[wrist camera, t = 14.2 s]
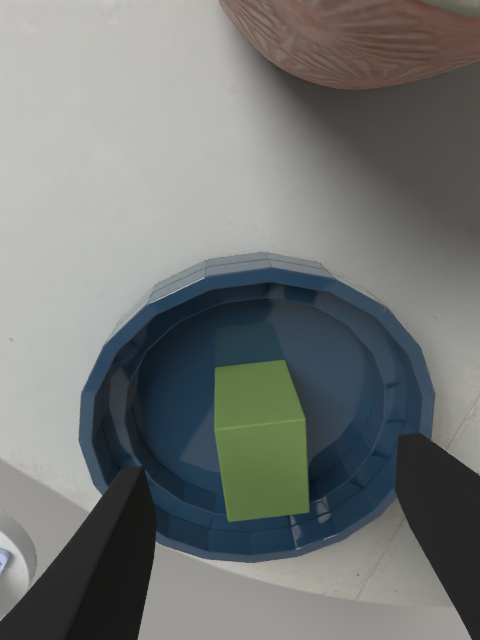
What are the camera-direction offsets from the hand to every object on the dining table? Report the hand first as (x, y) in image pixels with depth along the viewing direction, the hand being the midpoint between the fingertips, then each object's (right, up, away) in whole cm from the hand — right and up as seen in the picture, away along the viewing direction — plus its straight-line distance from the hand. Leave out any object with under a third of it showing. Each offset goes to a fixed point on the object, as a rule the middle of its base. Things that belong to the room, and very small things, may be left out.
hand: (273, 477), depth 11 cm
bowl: (0, 0, +10) cm, 10 cm away
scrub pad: (0, 0, +10) cm, 9 cm away
